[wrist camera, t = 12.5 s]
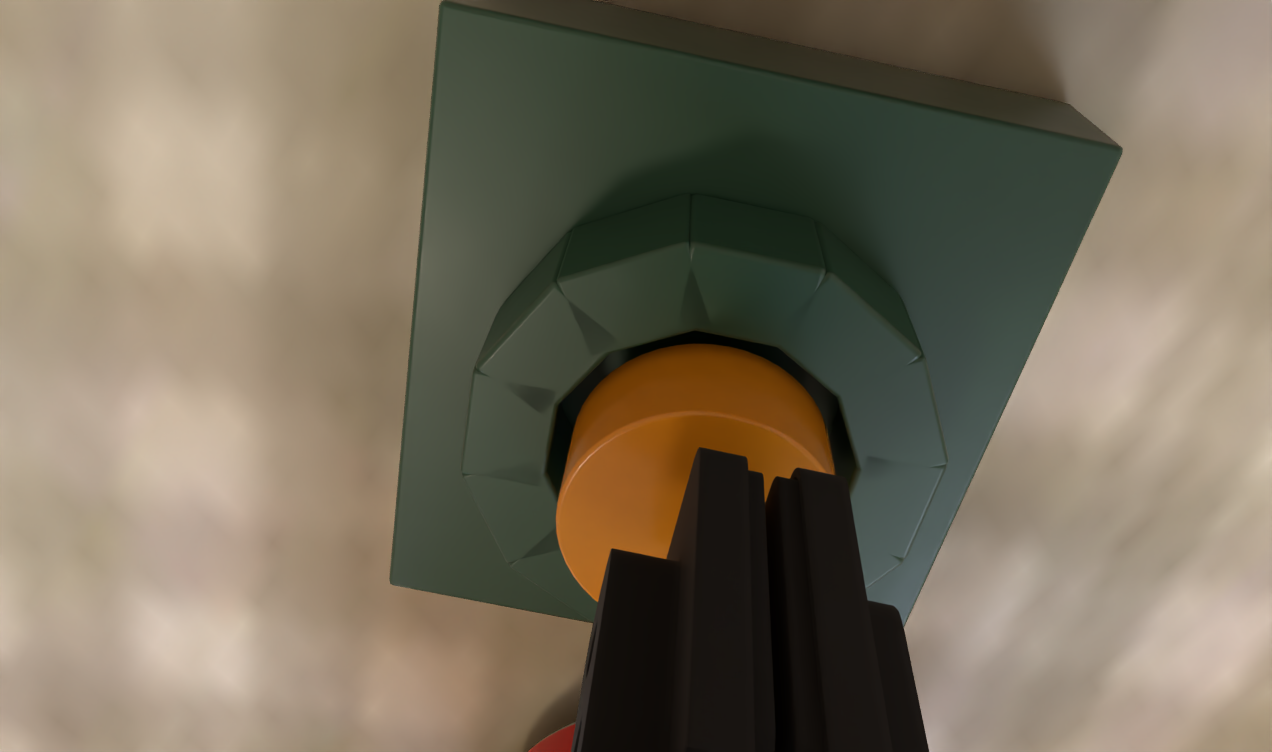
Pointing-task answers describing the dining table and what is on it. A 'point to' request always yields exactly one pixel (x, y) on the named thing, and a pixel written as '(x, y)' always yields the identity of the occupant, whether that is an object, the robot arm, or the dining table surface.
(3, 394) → the dining table surface
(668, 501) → the power button
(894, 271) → the switch box
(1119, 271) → the dining table surface
